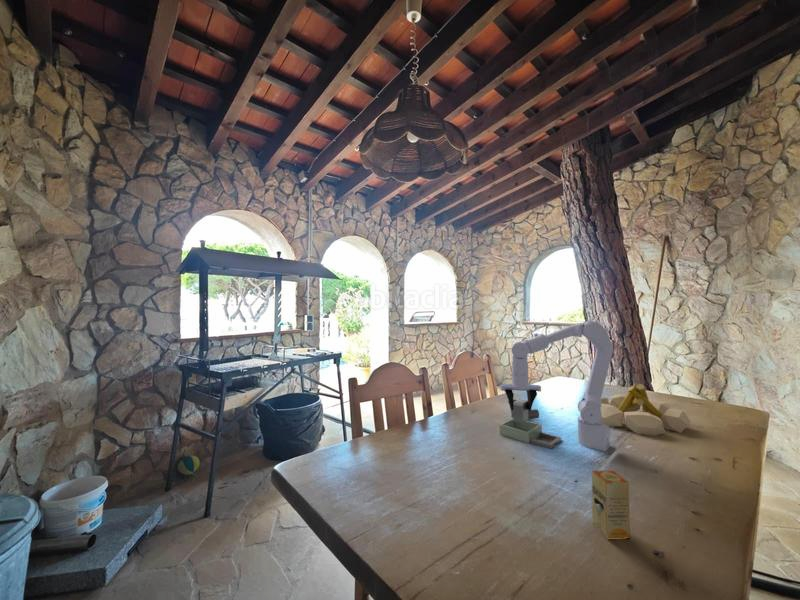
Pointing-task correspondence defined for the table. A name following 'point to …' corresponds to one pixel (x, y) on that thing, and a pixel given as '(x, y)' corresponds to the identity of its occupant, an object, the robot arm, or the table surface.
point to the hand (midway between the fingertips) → (520, 409)
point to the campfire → (642, 413)
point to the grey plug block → (520, 410)
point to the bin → (511, 431)
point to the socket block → (546, 440)
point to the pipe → (531, 414)
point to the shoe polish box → (610, 504)
